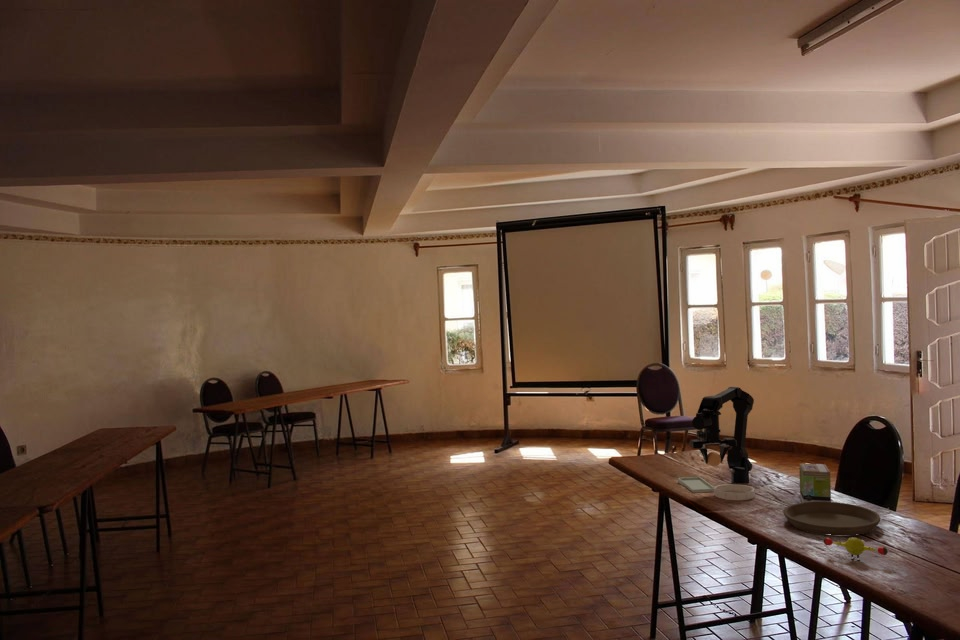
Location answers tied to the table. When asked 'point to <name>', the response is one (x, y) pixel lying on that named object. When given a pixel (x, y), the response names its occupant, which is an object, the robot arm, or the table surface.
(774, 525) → the table surface
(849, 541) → the toy figure
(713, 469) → the table surface
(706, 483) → the tray
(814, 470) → the tea box
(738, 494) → the bowl
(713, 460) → the ball
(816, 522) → the plant saucer
